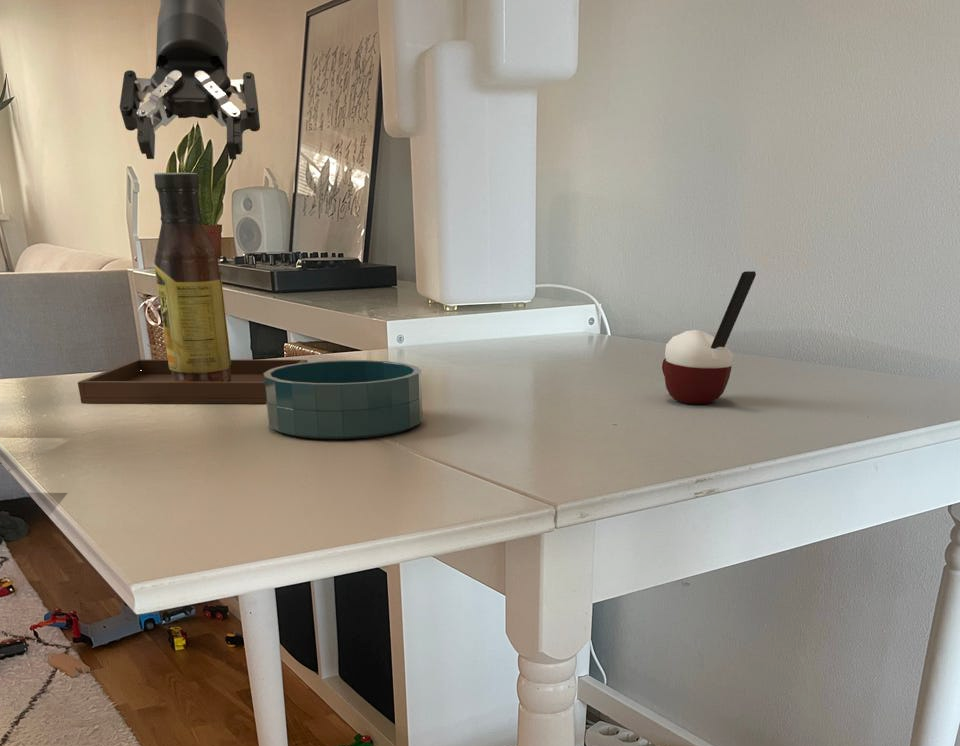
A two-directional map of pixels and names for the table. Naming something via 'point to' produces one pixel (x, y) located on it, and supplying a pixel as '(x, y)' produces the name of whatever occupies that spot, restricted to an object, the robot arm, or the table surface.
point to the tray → (177, 384)
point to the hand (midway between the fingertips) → (190, 152)
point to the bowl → (343, 398)
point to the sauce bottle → (189, 285)
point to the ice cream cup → (704, 355)
